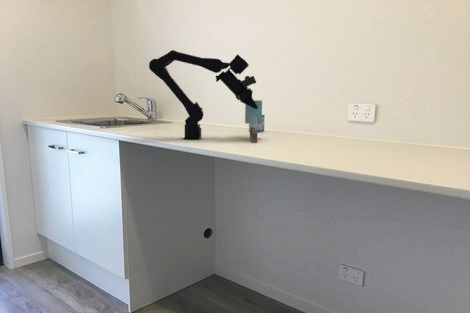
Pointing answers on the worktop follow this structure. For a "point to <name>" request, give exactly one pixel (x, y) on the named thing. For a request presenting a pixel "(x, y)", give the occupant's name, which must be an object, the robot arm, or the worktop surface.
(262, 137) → the worktop surface
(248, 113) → the teal plate
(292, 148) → the worktop surface
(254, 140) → the brown stepped bar
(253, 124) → the medicine box
